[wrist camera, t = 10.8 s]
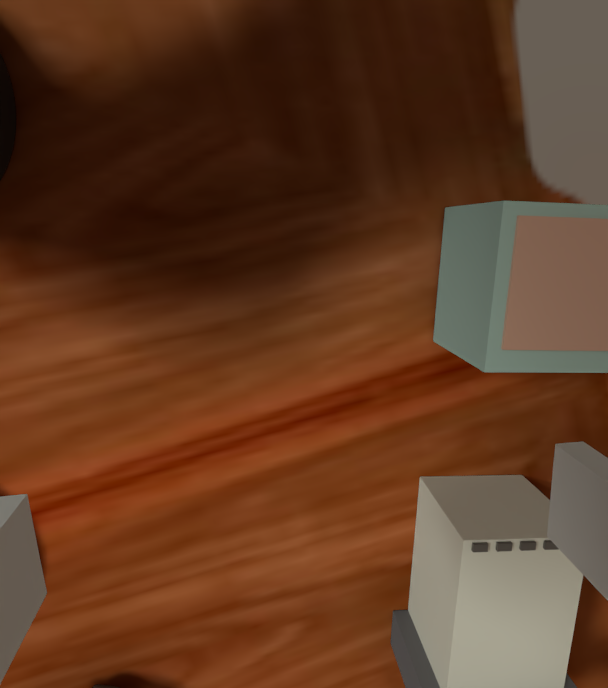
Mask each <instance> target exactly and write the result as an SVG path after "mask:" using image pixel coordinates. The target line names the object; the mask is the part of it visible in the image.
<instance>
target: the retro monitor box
mask: <svg viewBox="0 0 608 688" xmlns="http://www.w3.org/2000/svg"><path fill="white" fill-rule="evenodd" d="M433 341H434V342H435V343H437V344H439V345H440V346H442V347H444V348H445V349H447V350H449V351H450V352H452V353H453V354H455V355H457V356H458V357H460V358H462V359H463V360H465V361H467V362H468V363H470V364H472V365H473V366H475V367H476V368H478V369H480V370H481V371H483V372H535V373H608V205H595V204H572V203H548V202H524V201H496V202H488V203H479V204H471V205H463V206H454V207H446V208H445V214H444V225H443V236H442V248H441V259H440V270H439V281H438V292H437V303H436V314H435V325H434V337H433Z"/></svg>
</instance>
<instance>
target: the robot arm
mask: <svg viewBox="0 0 608 688" xmlns="http://www.w3.org/2000/svg"><path fill="white" fill-rule="evenodd" d="M15 130H16V109H15V100H14V94H13V89H12V85H11V81H10V77H9V74H8V71H7V68H6V65H5V63H4V60H3V58H2V56H1V54H0V180H1V178H2V177H3V175H4V172H5V170H6V168H7V166H8V163H9V160H10V157H11V153H12V150H13V145H14V139H15ZM547 537H548V538H549V539H550V540H551V541H552V542H553V543H554V544H555V545H556V546H557V547H558V549H559V550H560V551H561V552H562V553H563V554H564V555H565V556H566V557H567V558H568V559H569V560H570V561H571V562H572V563H573V564H574V565H575V567H576V568H577V569H578V570H579V571H580V572H581V573H582V574H583V575H584V576H585V577H586V578H587V579H588V580H589V581H590V582H591V583H592V585H593V586H594V587H595V588H596V589H597V590H598V591H599V592H600V593H601V594H602V595H603V596H604V597H605V598H606V599H607V600H608V458H607V457H605V456H604V455H602V454H601V453H599V452H598V451H596V450H595V449H593V448H592V447H590V446H589V445H587V444H586V443H585V442H583V441H582V442H571V443H561V444H555V453H554V464H553V475H552V486H551V497H550V508H549V519H548V529H547ZM46 594H47V591H46V586H45V581H44V576H43V571H42V566H41V561H40V556H39V551H38V546H37V541H36V536H35V531H34V526H33V521H32V516H31V511H30V506H29V501H28V496H27V494H22V495H12V496H1V497H0V683H1V682H2V680H3V678H4V676H5V674H6V672H7V670H8V668H9V666H10V664H11V662H12V660H13V658H14V656H15V654H16V652H17V651H18V649H19V647H20V645H21V643H22V641H23V639H24V637H25V635H26V633H27V631H28V629H29V627H30V625H31V623H32V621H33V620H34V618H35V616H36V614H37V612H38V610H39V608H40V606H41V604H42V602H43V600H44V598H45V596H46Z"/></svg>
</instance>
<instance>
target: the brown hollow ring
mask: <svg viewBox="0 0 608 688" xmlns="http://www.w3.org/2000/svg"><path fill="white" fill-rule="evenodd" d="M92 688H120V687H116V686H110V685H101V684H97V685H94V686H93V687H92Z"/></svg>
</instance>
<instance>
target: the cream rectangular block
mask: <svg viewBox="0 0 608 688" xmlns="http://www.w3.org/2000/svg"><path fill="white" fill-rule="evenodd" d="M549 508H550V500H549V499H548V498H547V497H546V496H545V495H544V494H542V492H541V491H540V490H539V489H538V488H537V487H535V486H534V485H532V484H531V483H530V482H529V481H528V480H527V479H526V478H525V477H524V476H523V475H488V476H431V477H420V481H419V493H418V504H417V515H416V526H415V537H414V549H413V560H412V571H411V582H410V593H409V604H408V610H396V611H393V620H392V632H391V645H392V648H393V651H394V654H395V657H396V660H397V663H398V666H399V669H400V672H401V675H402V678H403V681H404V684H405V687H406V688H577V687H576V685H575V684H574V683H573V681H572V680H571V678H570V677H569V676H568V674H567V673H566V672H567V667H568V661H569V655H570V649H571V643H572V638H573V632H574V626H575V620H576V614H577V609H578V603H579V597H580V591H581V586H582V580H583V574H582V573H581V572H580V571H579V570H578V569H577V568H576V567H575V565H574V564H573V563H572V562H571V561H570V560H569V559H568V558H567V557H566V556H565V555H564V554H563V553H562V552H561V551H560V550H559V549H558V547H557V546H556V545H555V544H554V543H553V542H552V541H551V540H550V539H549V538H548V537H547V529H548V519H549Z"/></svg>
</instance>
